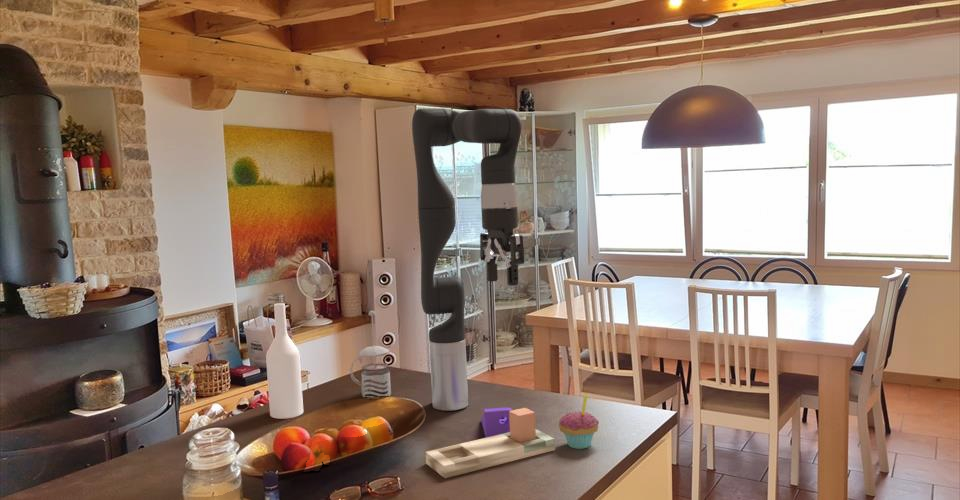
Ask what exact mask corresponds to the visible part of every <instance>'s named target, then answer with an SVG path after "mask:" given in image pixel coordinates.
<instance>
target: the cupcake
mask: <svg viewBox="0 0 960 500" xmlns="http://www.w3.org/2000/svg"><path fill="white" fill-rule="evenodd" d="M587 398H588V391H585V394H584V395H583V402H582V409H581V410H580V411H575V412H568V413H566V414H565V415H563V416H561V418H559V421H558V427H559V431H560V432H562V433H563V435H564V436H565V439H566V441H567V444H568V446H569V447H570V448H572V449H578V450H581V449H588V448H589V447H590V446H591V445H592V441H593V437H594V434H595V433H597V432H598V430H599V423H600V422H599V421H598V419H597V418H596V417H595V416H594V415H592V414H591V413H589V412H586V409H587V408H586V407H587V400H588V399H587Z"/></svg>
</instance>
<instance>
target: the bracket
mask: <svg viewBox="0 0 960 500" xmlns="http://www.w3.org/2000/svg"><path fill="white" fill-rule="evenodd" d="M512 410H513V408H511V407H497V408H496V407H495V408H485V409H484V410H483V411H484V412H483V415H482V416H481V418H480V421H481V426H482V428H483V434H484V436H485V437H484V438H487V437H491V436H495V435H500V434H504V433H508V432H510V419H509V411H512Z"/></svg>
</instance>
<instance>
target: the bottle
mask: <svg viewBox="0 0 960 500" xmlns="http://www.w3.org/2000/svg"><path fill="white" fill-rule="evenodd" d="M273 310H274V327H275V334H274V335H275V336H274V338H273V340H272V342H271V344H270V345H269V348H268V350H267V351H266V355H265V361H266V375H267V390H268V403H269V404H268V405H269V415H270V417H271V418H274V419H281V420H283V419H285V420H286V419H292V418H296V417H298V416H300V415H302V414H304V402H303V399H304V398H303V385H302V371H301V357H300V351H299V349H298V347H297V346H296V344H295V342H293V340H292V339H291V338H290V336H289V335H288V330H287V329H288V327H287V318H286V305H285V303H284V302H278V303H274V304H273Z"/></svg>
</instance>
